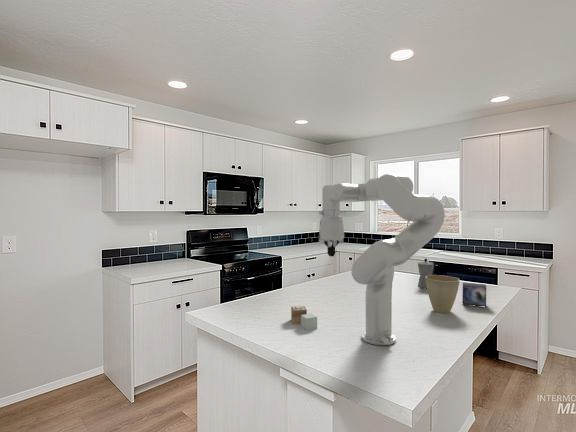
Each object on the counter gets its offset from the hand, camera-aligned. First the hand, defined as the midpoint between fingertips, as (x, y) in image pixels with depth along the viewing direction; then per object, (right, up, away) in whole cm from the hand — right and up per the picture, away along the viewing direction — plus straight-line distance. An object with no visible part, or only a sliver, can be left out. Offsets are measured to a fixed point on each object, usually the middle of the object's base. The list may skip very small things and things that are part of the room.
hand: (331, 256), depth 144 cm
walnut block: (-14, -23, +2) cm, 27 cm away
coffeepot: (+69, -28, +65) cm, 98 cm away
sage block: (-10, -29, -5) cm, 31 cm away
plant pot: (+55, -29, +16) cm, 64 cm away
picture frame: (+76, -28, +25) cm, 85 cm away
